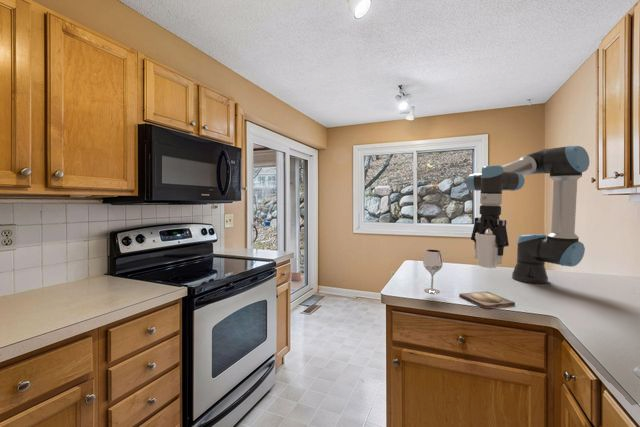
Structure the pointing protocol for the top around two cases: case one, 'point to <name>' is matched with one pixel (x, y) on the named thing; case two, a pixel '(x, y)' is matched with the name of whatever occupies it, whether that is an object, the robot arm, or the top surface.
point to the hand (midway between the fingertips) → (487, 260)
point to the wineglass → (432, 266)
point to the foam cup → (486, 249)
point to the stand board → (486, 299)
